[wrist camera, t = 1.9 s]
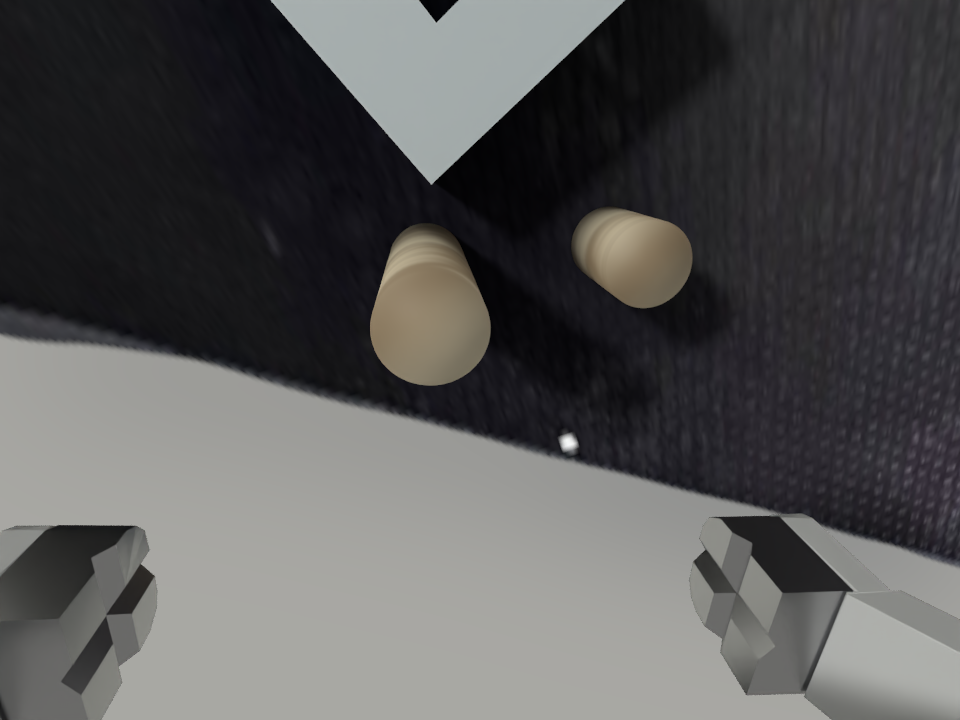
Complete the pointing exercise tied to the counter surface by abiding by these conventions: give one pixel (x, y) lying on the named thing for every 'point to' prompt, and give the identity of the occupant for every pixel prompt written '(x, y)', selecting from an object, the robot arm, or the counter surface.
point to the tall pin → (429, 309)
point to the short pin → (632, 255)
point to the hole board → (442, 62)
